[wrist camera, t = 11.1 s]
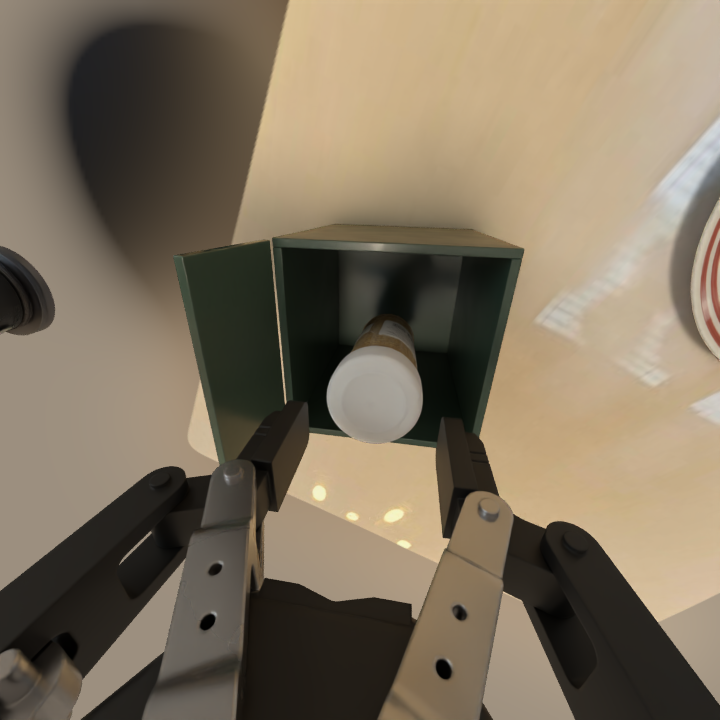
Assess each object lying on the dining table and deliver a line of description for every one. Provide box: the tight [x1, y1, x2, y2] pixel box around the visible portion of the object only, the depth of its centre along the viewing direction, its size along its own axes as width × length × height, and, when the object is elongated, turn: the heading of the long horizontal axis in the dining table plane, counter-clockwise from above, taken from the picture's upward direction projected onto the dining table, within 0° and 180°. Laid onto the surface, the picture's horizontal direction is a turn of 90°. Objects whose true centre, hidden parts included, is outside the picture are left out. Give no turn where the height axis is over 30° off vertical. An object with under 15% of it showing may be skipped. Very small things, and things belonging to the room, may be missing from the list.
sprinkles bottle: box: [327, 314, 423, 444], centre depth 21 cm, size 5×5×14 cm
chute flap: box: [174, 240, 285, 465], centre depth 17 cm, size 6×13×1 cm
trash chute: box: [272, 224, 524, 448], centre depth 26 cm, size 13×13×16 cm
